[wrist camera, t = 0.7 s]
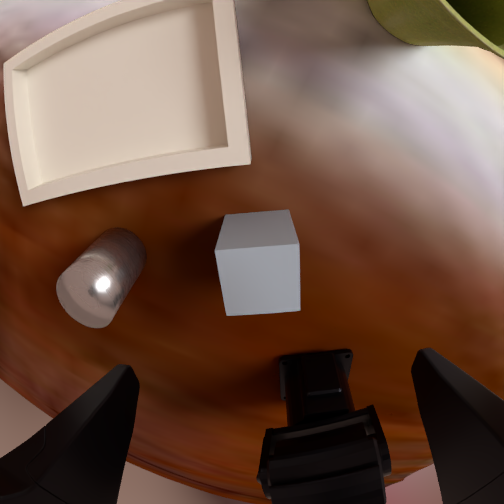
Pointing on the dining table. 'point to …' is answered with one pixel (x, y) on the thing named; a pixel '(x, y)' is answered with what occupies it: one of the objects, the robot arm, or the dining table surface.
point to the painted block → (259, 263)
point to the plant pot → (444, 22)
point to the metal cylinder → (101, 277)
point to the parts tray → (127, 97)
